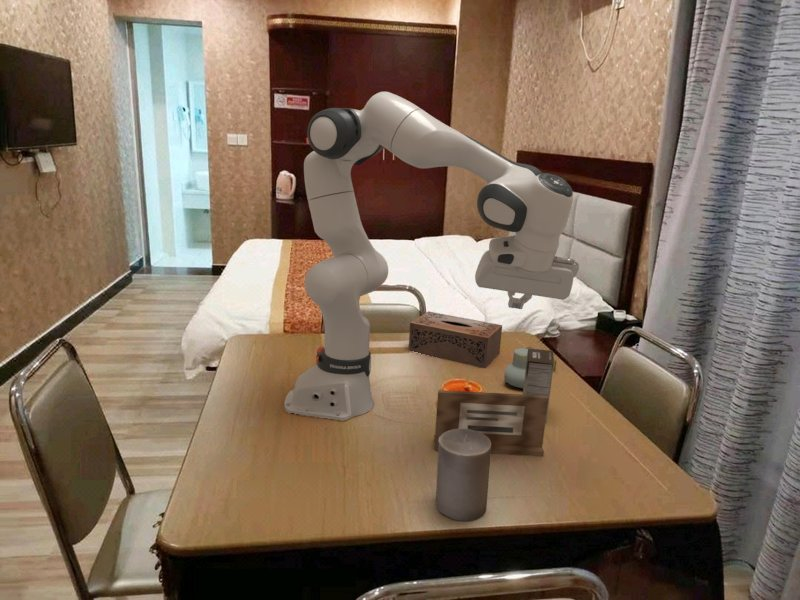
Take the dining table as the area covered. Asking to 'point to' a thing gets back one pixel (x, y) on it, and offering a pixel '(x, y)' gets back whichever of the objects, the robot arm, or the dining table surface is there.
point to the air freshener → (517, 368)
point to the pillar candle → (463, 474)
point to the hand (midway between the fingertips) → (514, 306)
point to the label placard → (495, 419)
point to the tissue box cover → (455, 339)
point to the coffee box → (538, 373)
